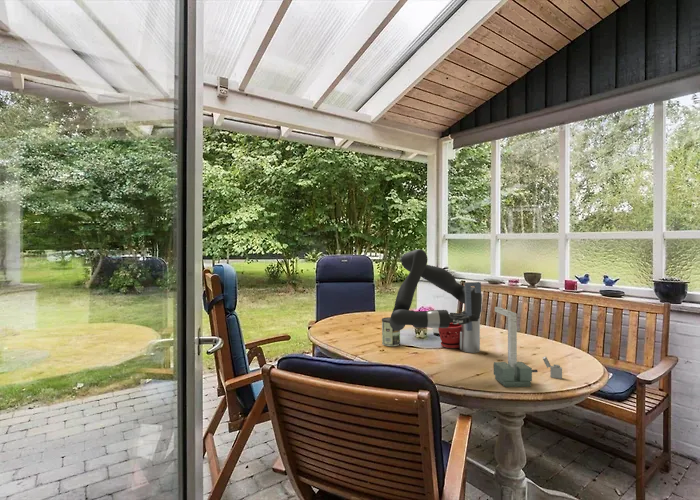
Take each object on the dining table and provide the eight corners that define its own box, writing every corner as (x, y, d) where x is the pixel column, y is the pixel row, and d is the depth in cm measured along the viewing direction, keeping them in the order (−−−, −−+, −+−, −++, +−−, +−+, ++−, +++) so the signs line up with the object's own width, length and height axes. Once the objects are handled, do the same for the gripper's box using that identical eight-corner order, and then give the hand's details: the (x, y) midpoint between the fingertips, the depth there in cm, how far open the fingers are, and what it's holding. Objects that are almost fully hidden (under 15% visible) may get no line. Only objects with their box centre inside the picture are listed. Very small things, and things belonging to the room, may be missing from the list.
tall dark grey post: (467, 330, 151) (465, 283, 151) (465, 329, 153) (464, 282, 153) (482, 330, 151) (480, 282, 151) (480, 328, 153) (478, 281, 153)
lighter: (562, 377, 147) (562, 358, 147) (561, 379, 146) (561, 359, 146) (542, 374, 151) (542, 355, 151) (542, 375, 150) (542, 356, 150)
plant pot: (460, 343, 200) (460, 322, 200) (465, 349, 187) (465, 327, 187) (437, 343, 201) (436, 321, 201) (440, 349, 188) (440, 327, 188)
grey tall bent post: (503, 387, 138) (503, 315, 137) (483, 370, 156) (483, 307, 156) (543, 386, 138) (543, 314, 138) (519, 370, 156) (519, 306, 156)
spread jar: (437, 332, 227) (437, 313, 227) (454, 334, 220) (454, 315, 220) (429, 335, 218) (429, 316, 218) (446, 338, 211) (446, 319, 211)
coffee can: (399, 341, 205) (399, 317, 205) (401, 346, 194) (401, 320, 194) (381, 341, 205) (381, 317, 205) (382, 346, 195) (382, 320, 194)
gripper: (440, 313, 145) (482, 312, 145) (432, 307, 159) (470, 306, 159) (441, 331, 145) (483, 330, 145) (432, 324, 159) (470, 322, 159)
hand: (476, 317), depth 152 cm, fingers closed on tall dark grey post, 2 cm apart
